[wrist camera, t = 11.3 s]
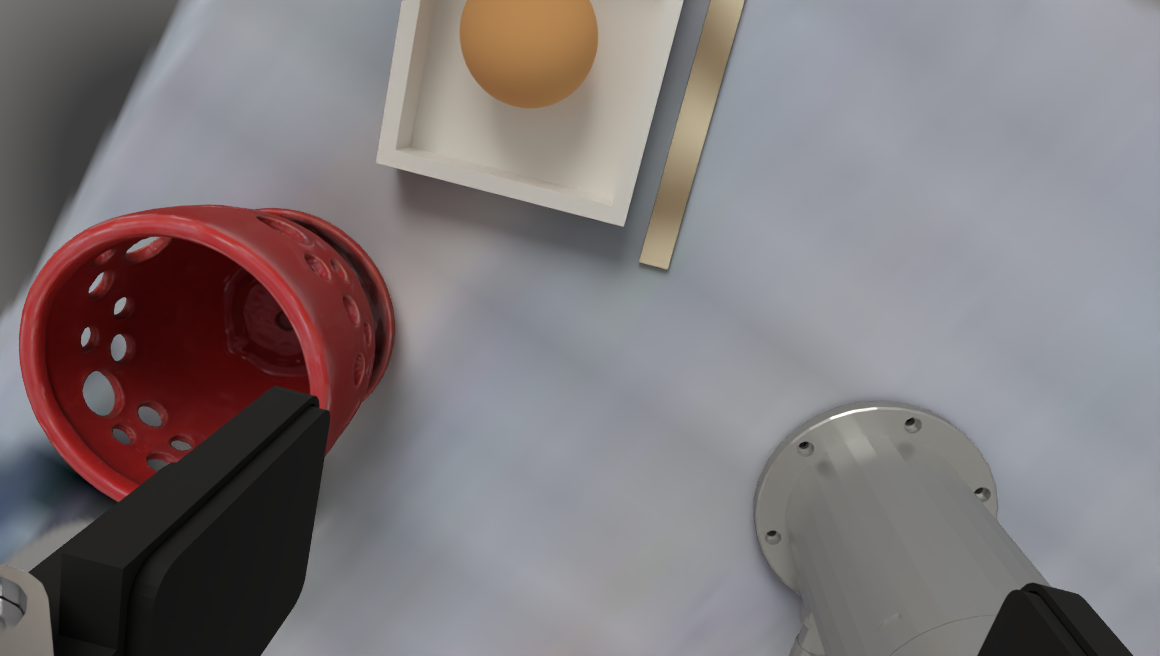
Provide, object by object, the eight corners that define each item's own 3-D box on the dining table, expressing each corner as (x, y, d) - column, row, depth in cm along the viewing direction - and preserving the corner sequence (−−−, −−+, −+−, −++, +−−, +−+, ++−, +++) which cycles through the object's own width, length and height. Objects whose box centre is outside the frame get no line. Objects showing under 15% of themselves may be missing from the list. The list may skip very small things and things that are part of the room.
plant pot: (465, 321, 42) (397, 408, 30) (299, 458, 45) (181, 583, 33) (293, 127, 39) (149, 142, 28) (131, 286, 43) (-57, 357, 31)
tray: (625, 217, 39) (623, 226, 36) (395, 157, 39) (376, 162, 37) (704, -84, 35) (709, -99, 32) (446, -149, 35) (429, -171, 32)
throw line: (667, 268, 40) (667, 269, 40) (639, 260, 40) (639, 262, 40) (791, -167, 34) (793, -170, 34) (758, -176, 34) (759, -178, 34)
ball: (586, 122, 38) (570, 124, 32) (466, 91, 38) (430, 87, 32) (618, -10, 36) (607, -32, 30) (492, -41, 36) (458, -70, 30)
